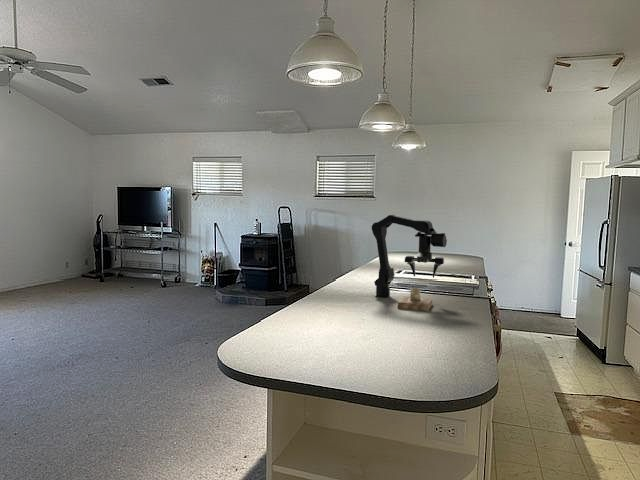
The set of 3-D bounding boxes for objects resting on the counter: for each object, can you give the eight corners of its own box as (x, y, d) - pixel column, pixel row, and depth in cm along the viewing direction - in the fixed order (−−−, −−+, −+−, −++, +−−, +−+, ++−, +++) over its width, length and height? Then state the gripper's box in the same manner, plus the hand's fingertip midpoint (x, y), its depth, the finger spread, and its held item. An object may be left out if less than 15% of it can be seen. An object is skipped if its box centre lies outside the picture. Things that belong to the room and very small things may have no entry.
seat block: (397, 308, 212) (397, 301, 212) (403, 302, 225) (403, 296, 225) (427, 311, 207) (428, 304, 207) (432, 304, 220) (432, 298, 220)
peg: (409, 307, 214) (409, 289, 214) (411, 305, 219) (411, 287, 218) (419, 308, 213) (419, 290, 212) (420, 305, 217) (421, 288, 216)
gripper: (402, 246, 220) (402, 278, 221) (442, 248, 213) (441, 281, 214) (406, 244, 230) (406, 274, 231) (444, 246, 223) (443, 277, 225)
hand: (423, 277), depth 225 cm, fingers open, 9 cm apart
